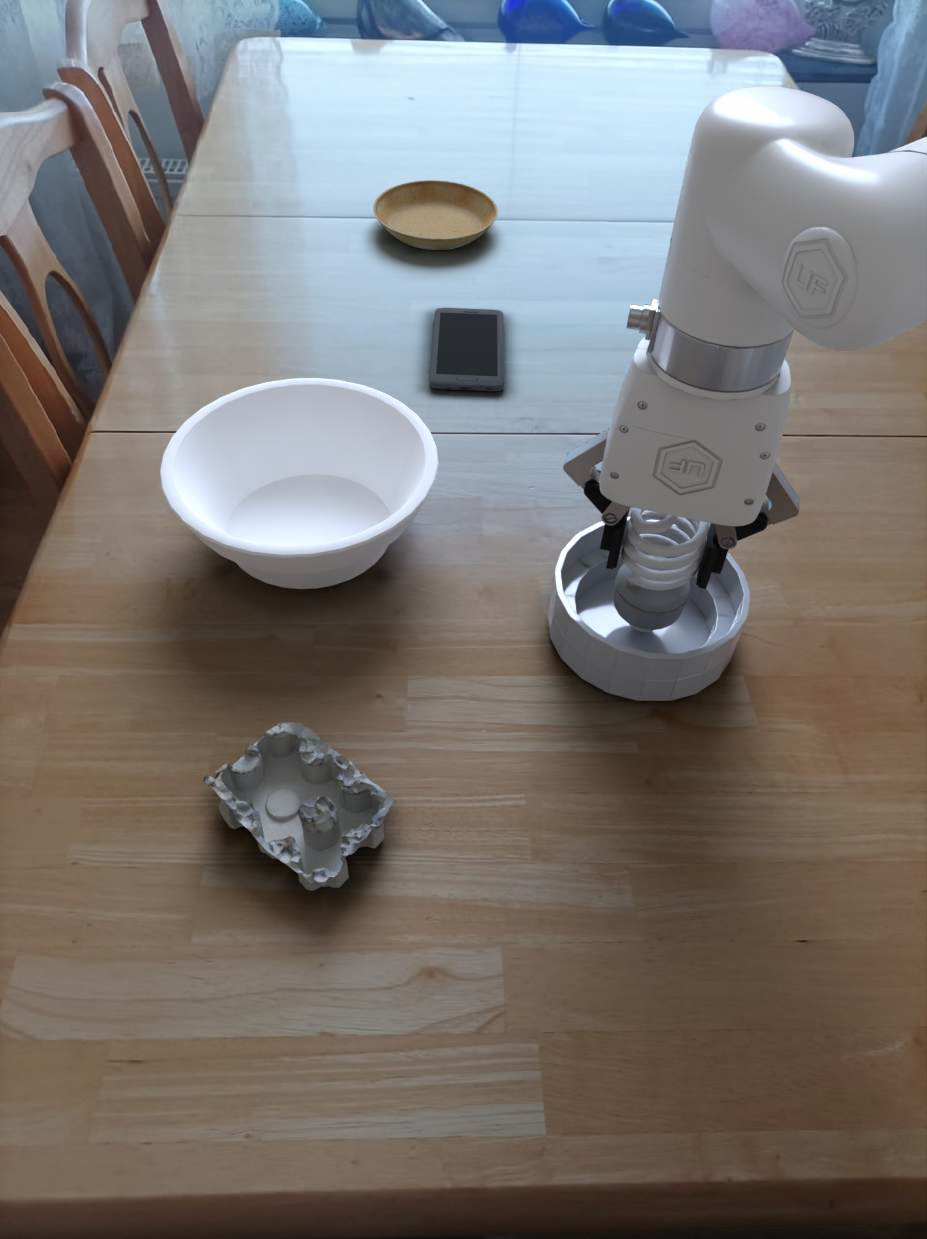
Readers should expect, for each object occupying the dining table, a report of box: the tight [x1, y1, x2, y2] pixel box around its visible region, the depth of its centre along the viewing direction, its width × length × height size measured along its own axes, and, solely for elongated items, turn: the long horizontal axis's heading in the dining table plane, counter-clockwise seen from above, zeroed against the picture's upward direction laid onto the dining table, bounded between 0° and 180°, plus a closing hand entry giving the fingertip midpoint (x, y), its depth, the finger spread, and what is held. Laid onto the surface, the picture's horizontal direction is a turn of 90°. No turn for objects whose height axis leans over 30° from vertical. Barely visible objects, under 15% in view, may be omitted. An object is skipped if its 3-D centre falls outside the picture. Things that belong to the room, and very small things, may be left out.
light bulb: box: [613, 507, 710, 632], centre depth 67 cm, size 6×6×12 cm
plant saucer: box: [372, 179, 499, 251], centre depth 112 cm, size 15×15×3 cm
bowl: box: [159, 377, 440, 590], centre depth 74 cm, size 21×21×8 cm
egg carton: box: [202, 721, 395, 892], centre depth 59 cm, size 11×8×4 cm
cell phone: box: [429, 307, 506, 392], centre depth 95 cm, size 7×14×1 cm, turn 179°
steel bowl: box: [547, 516, 752, 702], centre depth 70 cm, size 14×14×6 cm
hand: (658, 563), depth 66 cm, fingers closed on light bulb, 5 cm apart
